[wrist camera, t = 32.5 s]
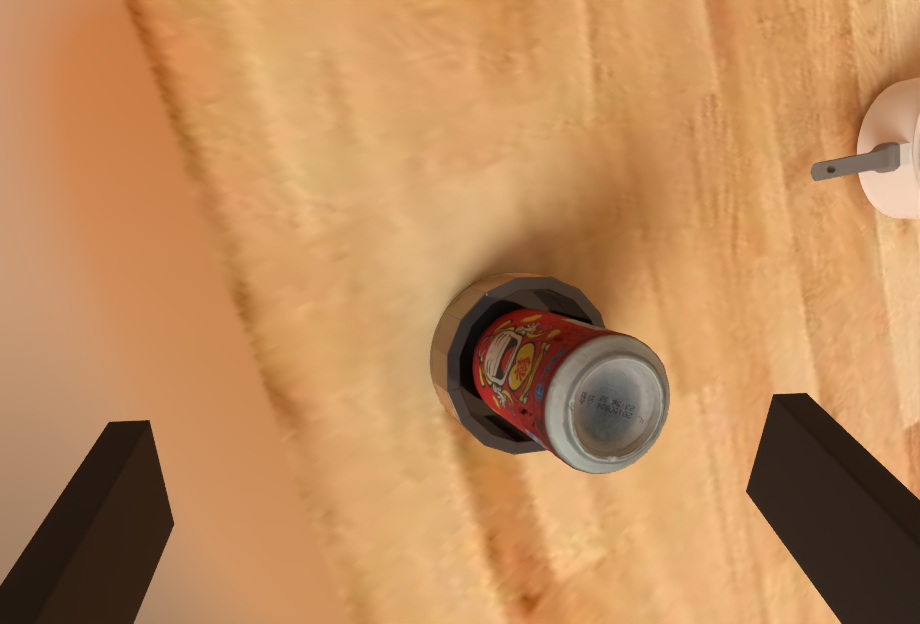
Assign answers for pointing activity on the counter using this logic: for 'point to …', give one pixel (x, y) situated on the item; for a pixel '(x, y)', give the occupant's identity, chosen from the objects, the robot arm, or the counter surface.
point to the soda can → (573, 387)
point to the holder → (464, 330)
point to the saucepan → (886, 152)
